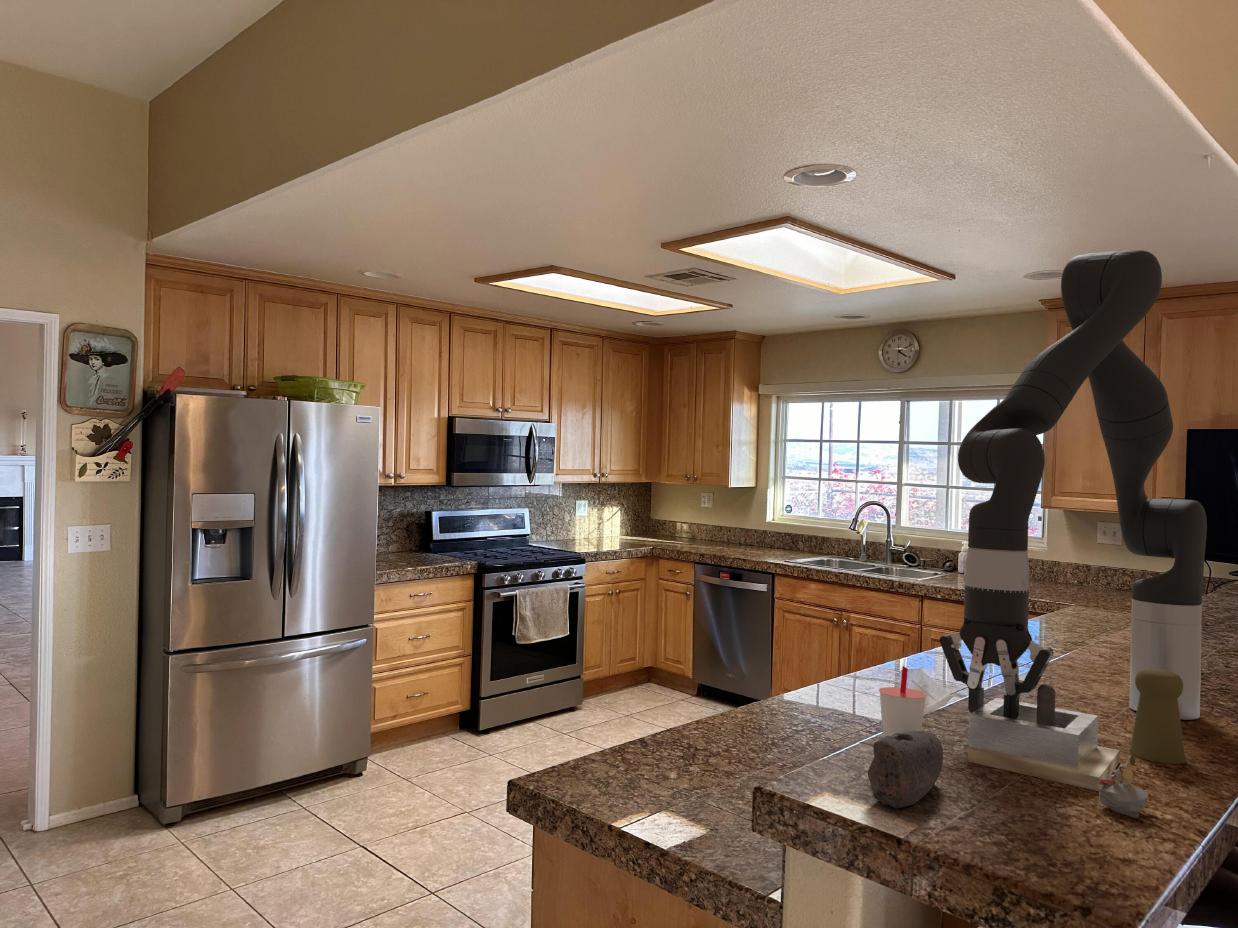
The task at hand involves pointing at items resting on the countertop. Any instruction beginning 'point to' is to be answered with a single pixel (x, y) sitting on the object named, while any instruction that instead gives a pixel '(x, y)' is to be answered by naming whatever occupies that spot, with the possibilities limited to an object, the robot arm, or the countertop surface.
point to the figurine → (1122, 792)
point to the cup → (901, 708)
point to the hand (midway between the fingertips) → (992, 719)
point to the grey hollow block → (1034, 734)
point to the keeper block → (1082, 778)
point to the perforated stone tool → (905, 767)
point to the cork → (1158, 717)
